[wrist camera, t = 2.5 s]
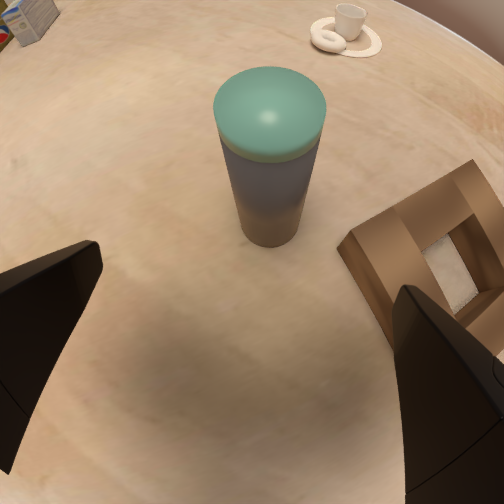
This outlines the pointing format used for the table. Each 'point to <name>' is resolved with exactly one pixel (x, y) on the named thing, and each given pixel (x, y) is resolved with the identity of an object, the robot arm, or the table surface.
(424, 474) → the robot arm
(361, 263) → the socket block
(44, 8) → the medicine box
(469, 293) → the table surface
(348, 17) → the teacup and saucer
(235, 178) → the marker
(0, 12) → the soda box
